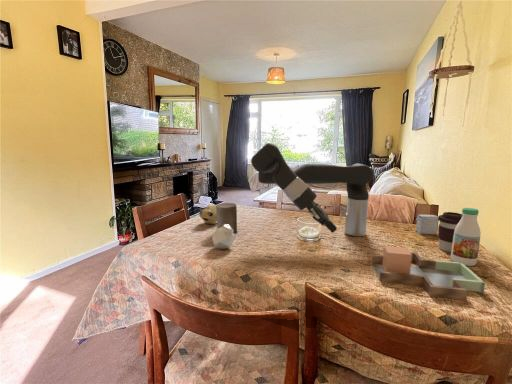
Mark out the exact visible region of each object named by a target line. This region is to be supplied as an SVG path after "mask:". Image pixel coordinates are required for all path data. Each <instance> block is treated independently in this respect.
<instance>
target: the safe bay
mask: <svg viewBox="0 0 512 384" xmlns="http://www.w3.org/2000/svg"><path fill="white" fill-rule="evenodd" d="M435 261H436V267H435V270H446V271H457V272H460V273H461V274H462V275H463V276H464V277H465V278H466V279H467V280H466V279H456V278H452V283H451V287H453V280H458V281H459V282H460V283H461V284H462V285H463V286H464V287H465V288H466V289H467V290H469V291H468V292H476V291H478V292H483V294H484V292H485V286H486V282H485V281H484V280H482V278H480V277H479V276H478V275H477V274H475V272H473V270H471V269H470V268H469V267H468V266H466V265H464V264H463V263H461V262H453V261H450V260H449V261H448V260H437V259H435Z"/></svg>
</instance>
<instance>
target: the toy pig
mask: <svg viewBox="0 0 512 384" xmlns="http://www.w3.org/2000/svg"><path fill="white" fill-rule="evenodd" d="M216 205H217V204H214V203H210V204H208V205H207V206H206V207H205V208H204V209H202V210H200V211H199V212H198V214H199V217H200V219H202V221H203V223H204V222H205V223H204V224H212V225H213V224H214V225H216V223H217V209H216Z"/></svg>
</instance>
